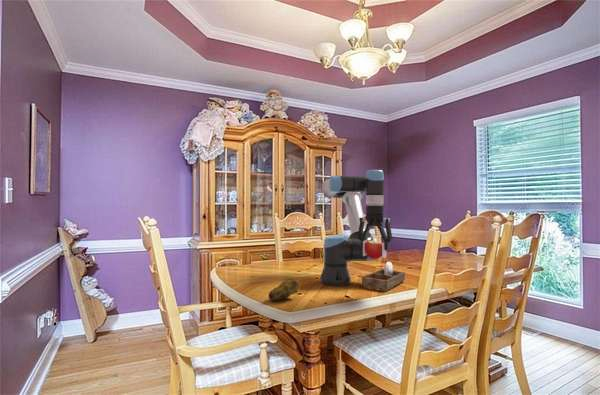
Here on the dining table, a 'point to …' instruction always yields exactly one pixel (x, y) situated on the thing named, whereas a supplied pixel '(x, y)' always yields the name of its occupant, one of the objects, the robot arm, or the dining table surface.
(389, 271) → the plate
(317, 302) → the dining table surface
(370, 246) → the apple
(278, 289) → the avocado
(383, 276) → the wooden tray
